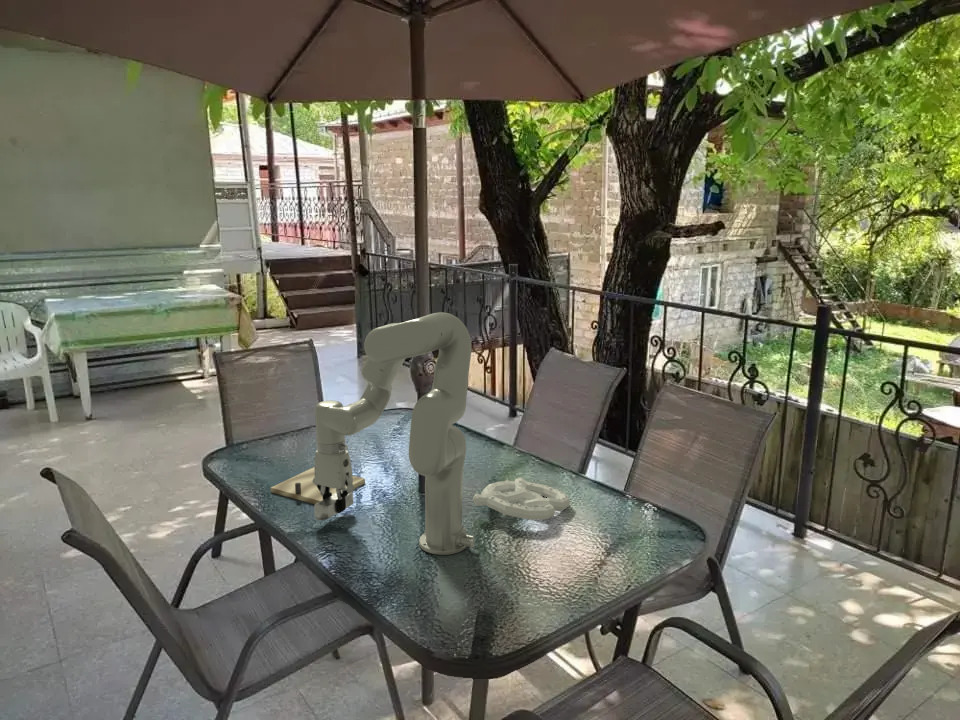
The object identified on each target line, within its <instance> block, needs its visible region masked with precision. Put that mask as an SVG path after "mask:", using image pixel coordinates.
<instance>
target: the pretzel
mask: <svg viewBox="0 0 960 720" xmlns="http://www.w3.org/2000/svg"><path fill="white" fill-rule="evenodd" d="M543 496H544V497H543ZM546 497H547V498H546ZM472 502H473V504H474V505H475V506H476V507H478V506H479V507H481V506H487V507H488V508H490V509H492V510H493V511H494V510H495V511H497V512H499V513H501V514H504V515H505V516H509V517H514V518H519V519H524V520H527V521H529V520H531V521H533V520H534V521H537V520H539V521H541V520H543V521H544V520H549V519H550V518H554V515H555V513H556V512H562V511H564V510H565V509H567V507H568V508H569V506H570V505H571V500H570V498H569V497H568V495H567V494H566V493H565V492H564V491H560V490H559V488H556V487H555V488H553V487H551V486H549V485H545V484H542V483H534V482H529V481H526V479H524V478H522V477H518V478H515V480H508V479H506V480H504V481H499V480H498V481H496V482H493V483H488V484H487V485H486V487H485V488H483V490H482V491H481V493H476V494H474V496H473V498H472Z"/></svg>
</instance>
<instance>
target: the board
mask: <svg viewBox="0 0 960 720" xmlns="http://www.w3.org/2000/svg"><path fill="white" fill-rule="evenodd" d="M314 477H315V473H314V466H313V467H312V468H309V469H307V470H305V471H303V472H300V473H299V474H296V475H295V476H293V477H290V478H288V479H286V480H284V481H282V482H280V483H278V484H275V485H273V486H271V487H270V492H271V493H273V494H276V495H279V496H284V497H287V498H290V499H295V500H299V501H300V502H301V501H302V502H306V503H309V504H312V505H315V504H316V503H318V502H320V501H322V500H323V496H321V494H320V491H319V489H318V488H317V486H316V485H315V484H314V483H313V482H312V481H313V479H314ZM352 484H353V486H354V488H355V489H357V488H358V487H361V486H362V485H364V484H366V478H364V477H360V476H356V475H353V483H352ZM346 489H347V486H346ZM330 492H331V493H332V495H333V494H335V493H337V492H336V489H334V488H330Z"/></svg>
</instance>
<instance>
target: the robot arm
mask: <svg viewBox="0 0 960 720" xmlns="http://www.w3.org/2000/svg"><path fill="white" fill-rule="evenodd" d="M363 348H364V353H365V355H366V356H367V358H366V360H365V361H364V363H363V366H362V367H361V375H362V378H363V379H364V380H365V381H366V382H368V383H367V385H366V388H365V389H364V392H363V393H362V395H361V397H360V398H359V399H358V400H357V401H355V402H352V403H349V404H347V405H345V406H344V405H343V403H342V402H341V401H339V400H331V399H330V400H324V401H319V402H318V403H316V405H315V406H314V418H315V437H316V451H315V454H314V466H313V467H314V473H315V477H314V479H313V481H312V482H313V483H314V484H315V485H316V486H317V488H318V489H319V491H320V494H321V496H323V500H324V499H326V498H328V497H330V496H331V495H332V493H331V492H330V488H334V489H336V492H337V497H338V499H336V507H337V514H340V513H342V512H344V511H345V510H346V509H347V508H346V500H345V497H346V496H347V495H348V494H349V493H350V492H352V491H355V489H356V488H354V486H353V484H352V483H353V476H354V475H353V470H352V469H353V468H352V463H351V462H352V460H351V457H350V454H349V453H350V452H349V451H348V448H349V447H348V445H347V444H346V436H352V435H353V436H354V435H355V434H357V433H359V432H361V431H363V430H365V429H367V428H368V427H371V426H372V425H373V424H375V423H376V422H377V421H378V420H379V418H380V417H382V414H383V413H384V410H385V409H386V407H387V405H389V404H388V403H389V401H390V399H391V396H392V384H393V382H394V380H395V379H396V376H397V374H398V372H399V371H400V369H401V367H402V366H403V364H404V362H405V361H406V359H408V358H414V357H419V356H422V355H426V354H429V353H431V352H434V351H436V350H438V355H437V358H436V362H435V365H434V370H433V381H432V386H431V390H430V391H429V392H428V393H426V394H423V396H421V397H420V398H419V399H418V400H417V401H416V403H415V404H414V407H413V409H412V413H411V420H410V421H411V422H410V430H409V431H410V432H409V443H408V459H409V462H410V465H411V467H412V468H413V470H414V471H415V472H416V473H418V474H419V475H420V476H424V477H425V478H424V479H425V482H424V483H425V484H424V495H425V496H424V500H425V501H424V509H425V511H424V513H425V514H424V517H425V518H424V519H425V520H424V522H425V523H424V528H425V530H424V533H423V534H422V535H421V536H420V537H419V540H418V541H419V542H418V544H419V547H420V548H421V549H422V550H423V551H425V552H427V553H429V554H433V555H438V556H448V555H454V554H458V553H460V552H463V551H464V550H465V549H467V548H472V549H473V548H474V547H475V536H474V535H471V534H467V528H466V527H465V526H463V492H464V491H463V490H464V489H463V488H464V485H463V483H464V482H463V481H464V467H465V460H466V454H467V440H466V437H465V435H464V433H463V432H462V431H461V429H460V428H458V427H456V426H455V425H454V424H455V423H457V422H459V421H460V420H461V419H462V418H463V416H464V414H465V412H466V410H467V409H466V407H467V399H468V397H467V396H468V388H469V387H468V386H469V375H470V366H471V357H472V339H471V336H470V332H469V330H468V328H467V326H466V325H465V324H464V322H462V320H461V319H460V318H459V317H458V316H455V315H454V314H452V313H448V312H442V311H439V312H434V313H430V314H427V315H423V316H420V317H418V318H415V319H410V320H406V321H404V322H393V323H388V324H386V325H382V326H379V327H376V328H374V329H371V331H370V332H369V333H368V334H367V335H366V337H365V340H364V343H363ZM346 486H347V489H346ZM341 490H342V493H341Z"/></svg>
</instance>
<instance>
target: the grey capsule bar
mask: <svg viewBox="0 0 960 720" xmlns="http://www.w3.org/2000/svg"><path fill="white" fill-rule="evenodd" d="M341 493H342V490H341ZM336 499H338V497H337V493H335V494H333V495H331V496H330V497H328V498H326V499H324V500H322V501H320V502H318V503H316V504H313V506H314V507H313V508H314V510H313V511H314V519H315V520H317V521H326V520H329V519H330V518H332V517H334V516H336V515H337V514H338V513H337V507H336ZM345 500H346V509H348V508H349V507H351V506H352V505H354V492H353V491H352V492H350V493H349V494H348V495H347V496H346V497H345Z"/></svg>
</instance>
